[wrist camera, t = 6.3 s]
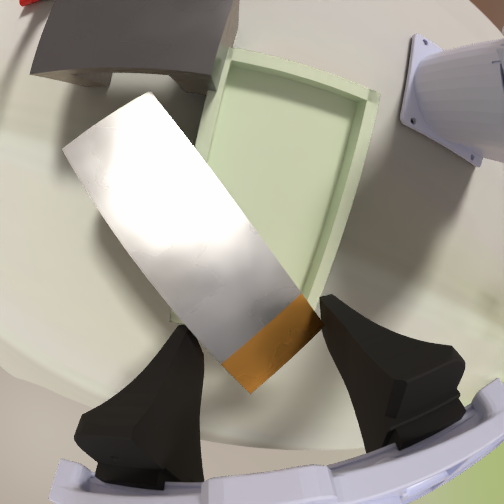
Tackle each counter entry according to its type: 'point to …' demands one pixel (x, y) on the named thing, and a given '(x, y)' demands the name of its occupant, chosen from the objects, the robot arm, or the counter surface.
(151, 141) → the pin
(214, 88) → the bracket
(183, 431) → the robot arm
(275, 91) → the tray
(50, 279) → the counter surface
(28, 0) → the tow hook
